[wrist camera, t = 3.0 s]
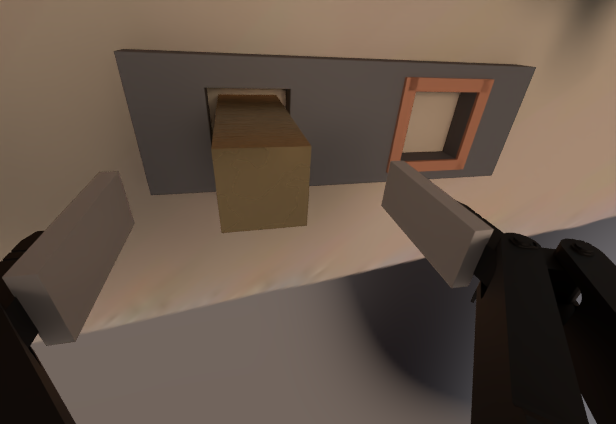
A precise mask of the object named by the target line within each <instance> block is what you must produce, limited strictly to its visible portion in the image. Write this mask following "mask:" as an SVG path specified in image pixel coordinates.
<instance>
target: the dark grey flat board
mask: <svg viewBox="0 0 616 424" xmlns="http://www.w3.org/2000/svg"><path fill="white" fill-rule="evenodd" d="M114 54H115V58H116V61H117V65H118V69H119V73H120V77H121V81H122V85H123V89H124V92H125V96H126V100H127V104H128V108H129V112H130V116H131V120H132V123H133V127H134V131H135V135H136V139H137V143H138V147H139V151H140V155H141V158H142V162H143V166H144V170H145V174H146V178H147V182H148V186H149V189H150V193H151V195H165V194H182V193H199V192H216V184H215V176H214V168H213V160H212V152H211V146H212V139H213V138H212V130H211V121H210V113H209V105H208V96H207V88H262V89H286V110H287V111H288V113H289V114H290V116H291V117H292V119H293V120H294V122H295V123H296V124H297V126H298V127H299V129H300V130H301V132H302V133H303V135H304V136H305V137H306V139H307V140H308V142H309V143H310V145H311V163H310V180H309V186H319V185H337V184H354V183H371V182H386V181H387V176H388V171H389V166H390V161H403V160H404V161H405V162H406V163H407V164H409V165H410V166H411V167H413V168H414V169H415V170H417V171H418V172H419V173H421V174H422V175H423V176H424V177H426V178H427V179H440V178H457V177H474V176H491V175H492V173H493V171H494V168H495V166H496V164H497V161H498V159H499V156H500V154H501V151H502V149H503V147H504V144H505V142H506V139H507V137H508V134H509V132H510V130H511V127H512V125H513V122H514V120H515V117H516V115H517V113H518V110H519V108H520V105H521V103H522V100H523V98H524V96H525V93H526V91H527V88H528V86H529V83H530V81H531V79H532V76H533V74H534V71H535V69H536V67H530V66H523V65H513V64H488V63H463V62H437V61H412V60H387V59H362V58H337V57H311V56H286V55H261V54H236V53H210V52H185V51H160V50H135V49H121V50H117V51H114ZM416 91H419V92H461V93H460V96H459V100H458V103H457V106H456V110H455V113H454V116H453V119H452V123H451V126H450V129H449V133H448V136H447V139H446V143H445V146H444V149H443V151H439V152H411V153H402V150H403V146H404V142H405V137H406V133H407V129H408V124H409V120H410V115H411V111H412V107H413V102H414V98H415V93H416Z"/></svg>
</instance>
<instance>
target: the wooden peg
mask: <svg viewBox="0 0 616 424" xmlns="http://www.w3.org/2000/svg"><path fill="white" fill-rule="evenodd" d="M211 152H212V160H213V168H214V176H215V184H216V192H217V200H218V208H219V216H220V224H221V232H222V233H227V232H239V231H250V230H262V229H273V228H285V227H296V226H307V214H308V197H309V180H310V163H311V145H310V143H309V142H308V140H307V139H306V137H305V136H304V135H303V133H302V132H301V130H300V129H299V127H298V126H297V124H296V123H295V122H294V120H293V119H292V117H291V116H290V114H289V113H288V111H287V110H286V109H285V107H284V106H283V104H282V103H281V101H280V100H279V98H278V97H277V96H276V95H233V94H218V101H217V108H216V116H215V123H214V131H213V139H212V146H211Z"/></svg>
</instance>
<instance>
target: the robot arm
mask: <svg viewBox="0 0 616 424" xmlns="http://www.w3.org/2000/svg"><path fill="white" fill-rule="evenodd" d="M381 206H382V207H383V208H384V209H385V210H386V212H387V213H388V214H389V215H390V216H391V217H392V219H393V220H394V221H395V222H396V223H397V224H398V226H399V227H400V228H401V229H402V230H403V232H404V233H405V234H406V235H407V236H408V237H409V239H410V240H411V241H412V242H413V243H414V244H415V246H416V247H417V248H418V249H419V250H420V252H421V253H422V254H423V255H424V256H425V257H426V259H427V260H428V261H429V262H430V263H431V264H432V266H433V267H434V268H435V269H436V270H437V271H438V273H439V274H440V275H441V276H442V277H443V278H444V279H445V281H446V282H447V283H448V284H449V286H450V287H451V288H457V287H464V286H469V283H470V281H471V279H472V276H473V275H475V276H476V277H477V278H478V279H479V280H480V282H479V285H478V287H477V289H476V291H475V293H474V295H473V297H472V299H471V302H473V303H474V301H475V299H476V319H475V320H476V321H475V343H474V366H473V387H472V388H473V389H472V410H471V424H589V422H588V419H587V415H586V411H585V407H584V404H583V400H582V396H583V398H584V400H585V402H586V403H587V406H588V408H589V409H590V411H591V413H592V415H593V417H594V419H595V420H596V423H597V424H616V265H614V263H612V261H611V260H610V259H609V258H608V257H607V256H606V255H605V254H604V253H603V252H601V251H600V250H599V249H597V248H596V247H594V246H592V245H591V244H589V243H587V242H586V243H585V242H584V241H581V240H575V239H563V240H561V242H560V243H559V245H558V247H557V248H556V249H549V248H541V246H540V245H539V244H538V243H537V242H536V241H534V240H532V239H531V238H529V237H527V236H524V235H521V234H516V233H505V234H504V233H503V232H501V231H500V230H499V229H497V228H496V227H495V226H493V225H492V224H491V223H489V222H488V221H487V220H485V219H484V218H482V217H481V216H480V215H479V214H477V213H475V211H473V210H472V209H471V208H469V207H468V206H467V205H465V204H462V203H460V202H458V201H456V200H455V199H453V198H452V197H451V196H449V195H448V194H447V193H445V192H444V191H443V190H442V189H440V188H439V187H438V186H436V185H435V184H434V183H432V182H431V181H430V180H428V179H427V178H426V177H424V176H423V175H422V174H421V173H419V172H418V171H417V170H415V169H414V168H413V167H411V166H410V165H409V164H407V163H406V162H405V161H404V160H403V161H390V166H389V171H388V176H387V181H386V186H385V191H384V196H383V200H382V205H381ZM133 225H134V220H133V216H132V213H131V210H130V207H129V203H128V200H127V197H126V193H125V190H124V187H123V183H122V180H121V177H120V173H119V171H110V172H99V173H98V174H97V175H96V176H95V177H94V178H93V179H92V180H91V182H90V183H89V184H88V185H87V186H86V187H85V188H84V189H83V190H82V191H81V192H80V193H79V194H78V196H77V197H76V198H75V199H74V200H73V201H72V202H71V203H70V204H69V205H68V206H67V207H66V209H65V210H64V211H63V212H62V213H61V214H60V215H59V216H58V217H57V218H56V219H55V220H54V222H53V223H52V224H51V225H50V226H49V227H48V228H47V229H46V230H45V231H37V232H35V233H33V234H32V235H30V236H28V237H27V238H25V239H23V240H21V241H20V242H19V243H18V244H17V245H16V246H15V247H14V248H13V249H12V251H11V253H9V254H8V255H7V256H6V257H5V258H4V259H3V261H1V262H0V424H76V423H75V421H74V420H73V418H72V416H71V414H70V413H69V411H68V409H67V407H66V406H65V404H64V402H63V400H62V399H61V397H60V395H59V393H58V392H57V390H56V388H55V387H54V385H53V383H52V381H51V380H50V378H49V376H48V374H47V373H46V371H45V369H44V367H43V366H42V364H41V362H40V361H39V359H38V357H37V355H36V354H35V352H34V350H33V349H32V348H31V347H30V345H31V343H32V342H33V340H34V339H35V337H36V336H37V334H39V335H40V337H41V339H42V340H43V342H44V343H45V345H46V346H48V345H55V344H63V343H70V342H75V341H76V340H77V338H78V336H79V334H80V332H81V330H82V328H83V326H84V324H85V322H86V319H87V317H88V315H89V313H90V311H91V309H92V307H93V305H94V303H95V301H96V299H97V297H98V295H99V293H100V291H101V289H102V287H103V285H104V283H105V281H106V279H107V277H108V275H109V273H110V271H111V269H112V267H113V265H114V263H115V261H116V259H117V257H118V255H119V253H120V251H121V249H122V247H123V245H124V243H125V241H126V239H127V237H128V235H129V233H130V231H131V229H132V227H133ZM580 293H581V294H582V301H581V303H580V305H579V304H578V302H577V301H576V299H577V297H578V296H579V295H580ZM581 394H582V396H581Z"/></svg>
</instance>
